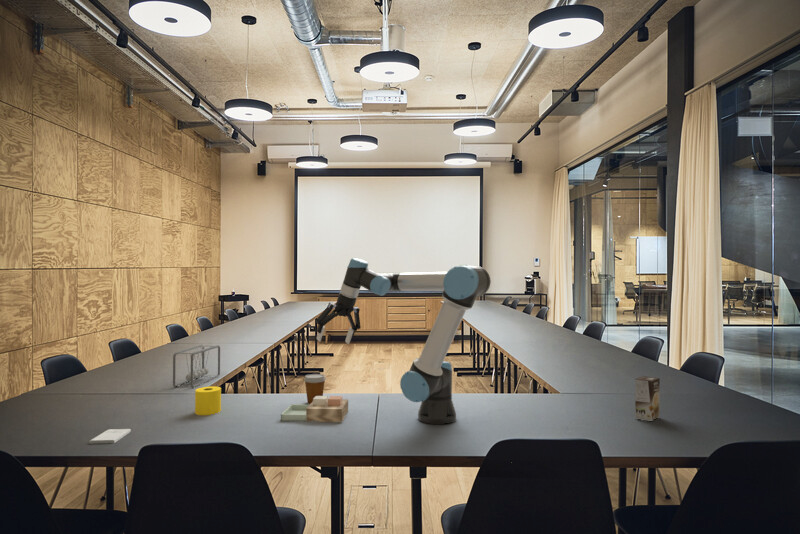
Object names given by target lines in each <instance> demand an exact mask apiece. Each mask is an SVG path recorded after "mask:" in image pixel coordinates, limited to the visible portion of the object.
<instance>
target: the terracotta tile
mask: <svg viewBox="0 0 800 534" xmlns="http://www.w3.org/2000/svg"><path fill="white" fill-rule="evenodd" d="M343 399H344V398H343V396H342V395H340V396H339V395H331V396H328V405H330V406H340V405H341V404H342V402H343Z"/></svg>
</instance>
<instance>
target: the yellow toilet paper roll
mask: <svg viewBox="0 0 800 534" xmlns="http://www.w3.org/2000/svg"><path fill="white" fill-rule="evenodd" d="M194 393H195V395H194V397H195V398H194V399H195V400H194V401H195V402H194V404H195V405H194V414H195V415H196V414H197V416H212V415H211V414H213V415H216V414H215V413H217V414H219V413H221V412H222V387H220V386H203V387H199V388H196V389H195V391H194ZM220 411H221V412H220ZM218 412H219V413H218Z"/></svg>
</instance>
